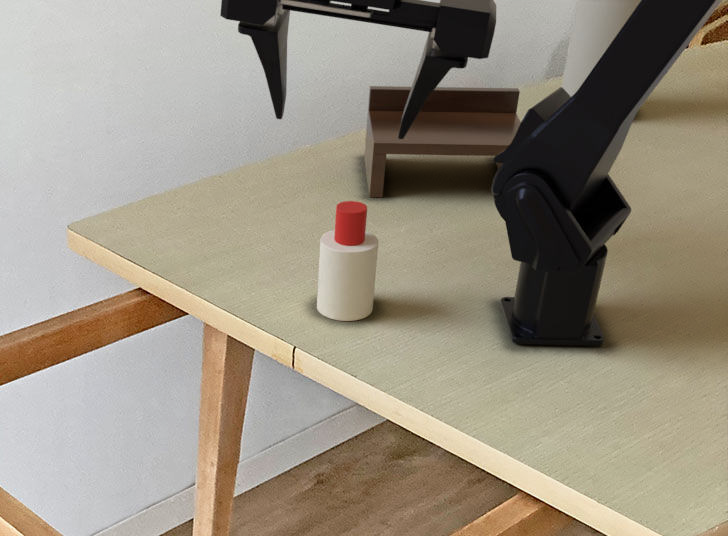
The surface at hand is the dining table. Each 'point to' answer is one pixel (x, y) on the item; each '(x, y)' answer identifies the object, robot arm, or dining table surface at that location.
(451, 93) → the spice rack
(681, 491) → the dining table surface
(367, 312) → the seasoning bottle
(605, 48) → the travel mug
